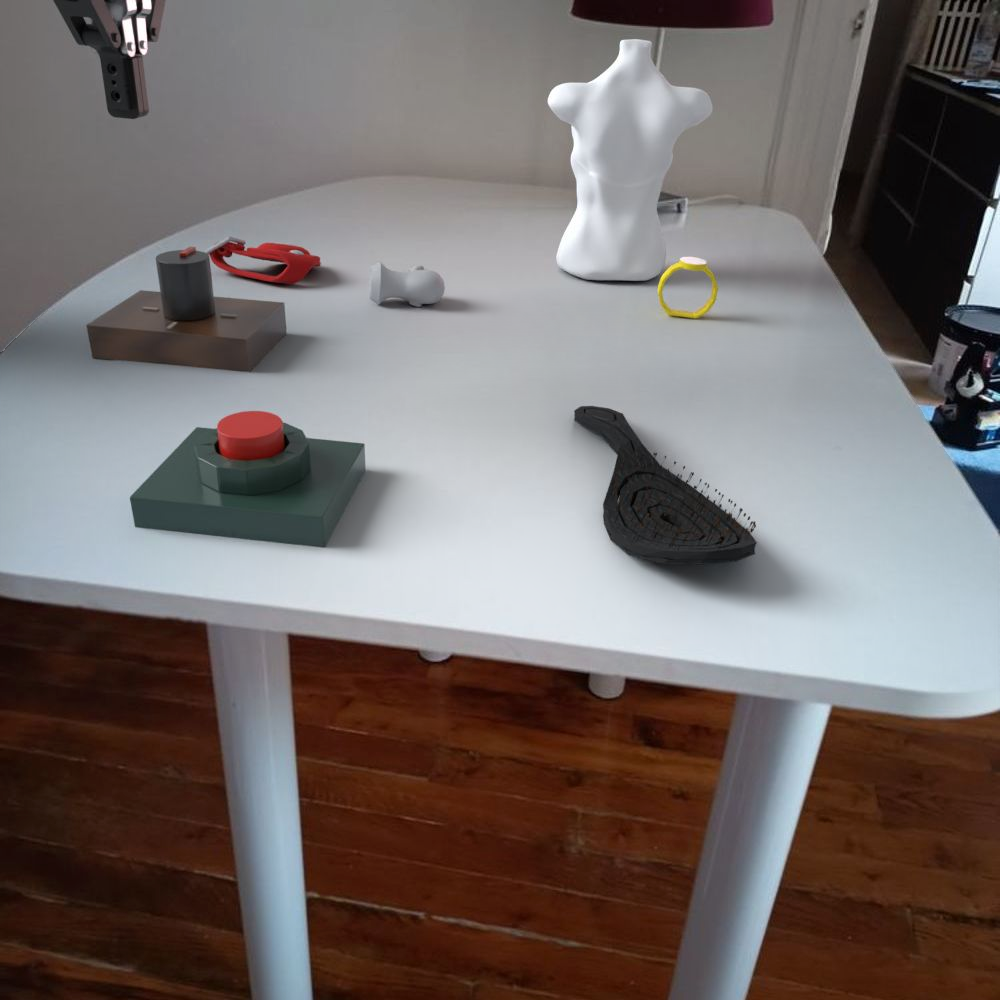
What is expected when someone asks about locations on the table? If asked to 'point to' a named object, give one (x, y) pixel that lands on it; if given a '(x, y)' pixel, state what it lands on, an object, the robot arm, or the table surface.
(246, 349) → the dimmer panel
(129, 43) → the robot arm
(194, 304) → the dimmer knob
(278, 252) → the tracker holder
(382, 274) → the pale two-lobed sculpture
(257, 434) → the button
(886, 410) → the table surface
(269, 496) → the switch block
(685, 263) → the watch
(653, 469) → the hairbrush
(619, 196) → the torso sculpture
